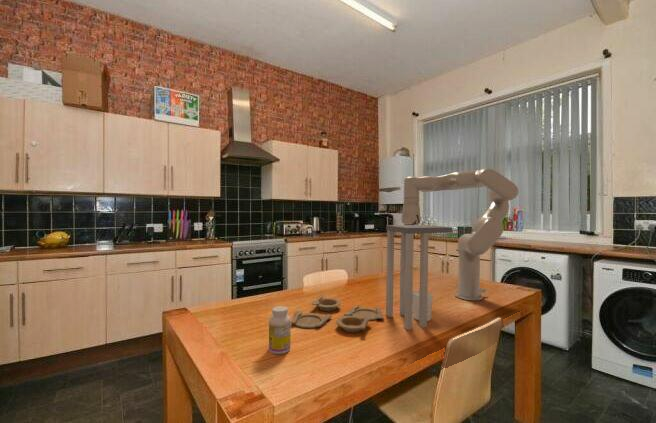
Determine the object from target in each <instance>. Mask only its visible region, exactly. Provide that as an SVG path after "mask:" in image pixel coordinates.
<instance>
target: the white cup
mask: <svg viewBox="0 0 656 423" xmlns="http://www.w3.org/2000/svg"><path fill="white" fill-rule="evenodd" d="M419 297H420V290H414V291H413V302H412V318H413V319H415V320H417V321H419ZM433 297H434V294H433V293H432V292H430V291H428V292H427V322H429V321H431V319H432V312H433V311H432V310H433V302H434V301H433V299H434V298H433Z"/></svg>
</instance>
